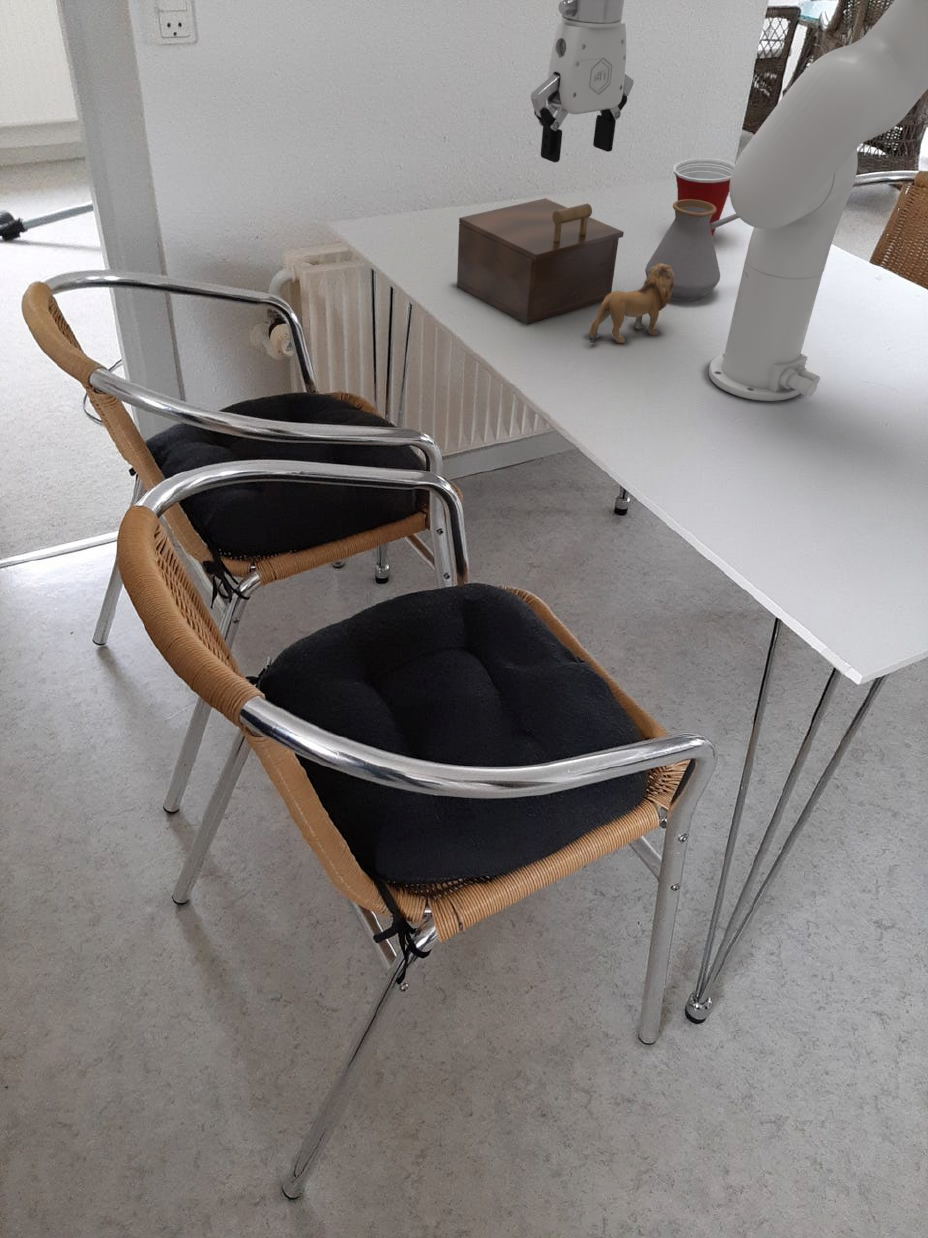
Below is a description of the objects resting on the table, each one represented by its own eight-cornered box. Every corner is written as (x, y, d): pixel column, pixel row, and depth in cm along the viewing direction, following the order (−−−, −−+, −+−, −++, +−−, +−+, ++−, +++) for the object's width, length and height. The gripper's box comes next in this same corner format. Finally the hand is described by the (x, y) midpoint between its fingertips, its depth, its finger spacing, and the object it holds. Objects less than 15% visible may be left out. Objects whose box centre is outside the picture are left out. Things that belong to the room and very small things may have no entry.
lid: (623, 236, 146) (628, 201, 143) (535, 260, 138) (538, 223, 135) (544, 203, 156) (547, 169, 153) (458, 223, 148) (459, 187, 145)
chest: (610, 298, 153) (619, 235, 147) (526, 324, 145) (531, 258, 139) (539, 263, 163) (544, 203, 157) (456, 286, 154) (458, 223, 148)
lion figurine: (648, 315, 149) (658, 255, 143) (675, 328, 146) (687, 267, 140) (577, 340, 141) (585, 277, 135) (604, 354, 138) (613, 290, 132)
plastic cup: (649, 231, 176) (661, 159, 168) (700, 224, 180) (713, 153, 172) (685, 253, 169) (698, 178, 161) (737, 245, 172) (752, 172, 165)
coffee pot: (653, 306, 151) (671, 204, 142) (633, 276, 160) (648, 178, 150) (788, 304, 154) (814, 203, 144) (761, 275, 163) (784, 178, 153)
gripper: (561, 20, 119) (547, 171, 130) (662, 8, 127) (640, 152, 138) (520, 8, 123) (510, 156, 134) (620, -2, 132) (603, 138, 143)
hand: (576, 154), depth 136 cm, fingers open, 9 cm apart
